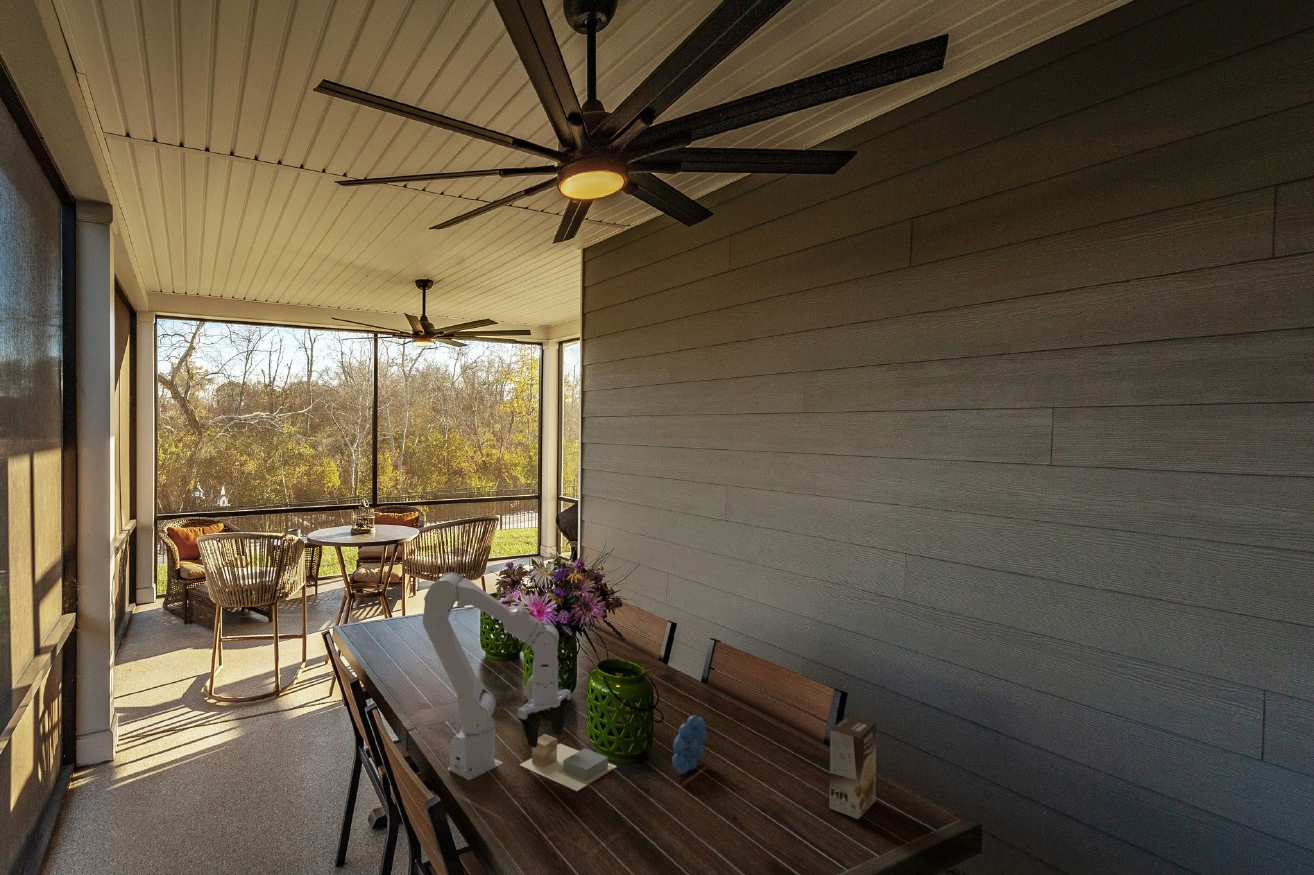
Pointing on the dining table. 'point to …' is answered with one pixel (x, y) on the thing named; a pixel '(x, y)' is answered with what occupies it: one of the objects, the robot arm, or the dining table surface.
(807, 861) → the dining table surface
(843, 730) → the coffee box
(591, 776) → the slate slab
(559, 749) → the white flat sheet
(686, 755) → the blue lumpy rounded block
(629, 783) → the dining table surface
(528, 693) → the donut
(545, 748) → the maple block
